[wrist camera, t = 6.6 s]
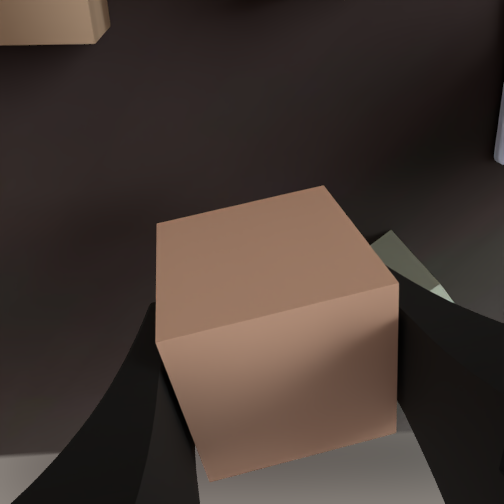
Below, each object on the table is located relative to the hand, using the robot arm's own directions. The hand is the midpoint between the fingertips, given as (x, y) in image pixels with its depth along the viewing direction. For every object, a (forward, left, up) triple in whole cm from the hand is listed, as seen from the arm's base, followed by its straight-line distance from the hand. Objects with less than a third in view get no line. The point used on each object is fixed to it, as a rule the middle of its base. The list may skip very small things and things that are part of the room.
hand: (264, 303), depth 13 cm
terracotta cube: (0, 0, -2) cm, 2 cm away
